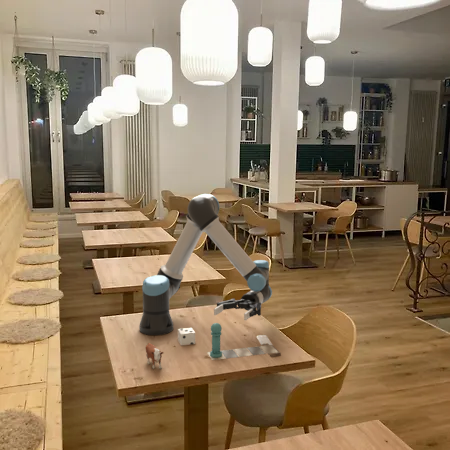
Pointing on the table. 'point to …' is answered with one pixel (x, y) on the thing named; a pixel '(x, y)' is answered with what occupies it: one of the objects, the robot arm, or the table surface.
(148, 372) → the table surface
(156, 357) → the bull figurine
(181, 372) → the table surface
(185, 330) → the die
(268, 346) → the board
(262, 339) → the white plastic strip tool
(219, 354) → the pawn
